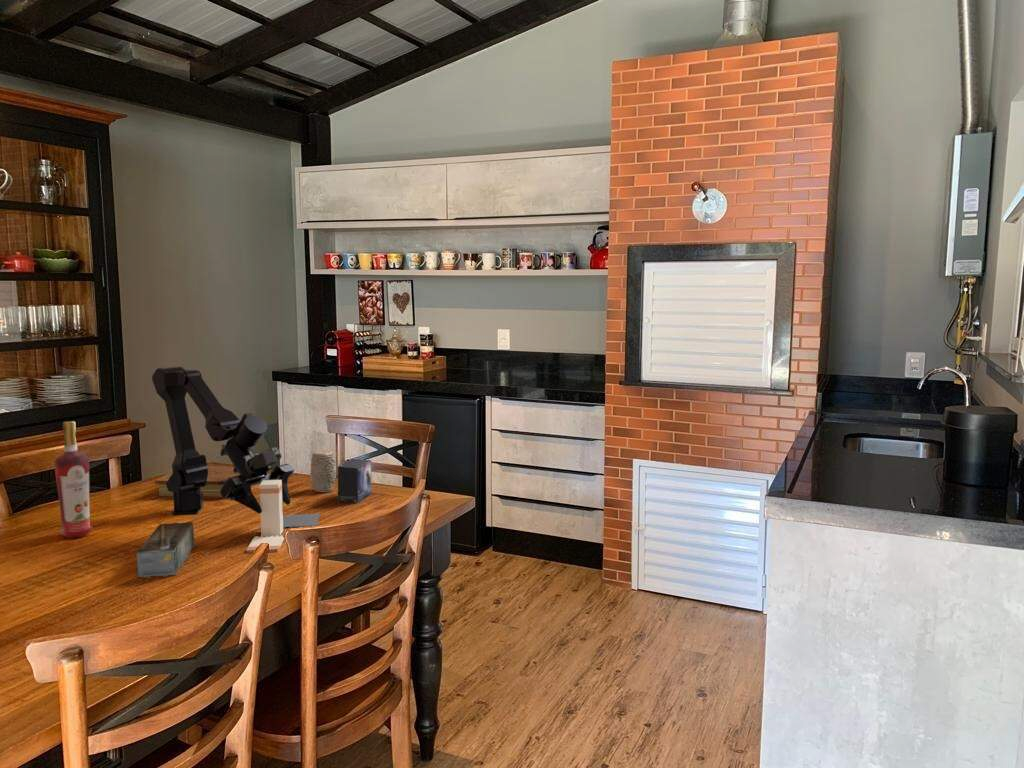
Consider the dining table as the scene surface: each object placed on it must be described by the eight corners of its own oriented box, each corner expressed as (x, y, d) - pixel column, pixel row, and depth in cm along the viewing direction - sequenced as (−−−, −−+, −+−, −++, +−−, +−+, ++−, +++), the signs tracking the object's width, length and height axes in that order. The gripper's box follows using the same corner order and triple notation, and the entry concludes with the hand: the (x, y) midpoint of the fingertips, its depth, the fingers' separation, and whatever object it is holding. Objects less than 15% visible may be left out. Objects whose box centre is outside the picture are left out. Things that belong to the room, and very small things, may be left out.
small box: (358, 504, 214) (357, 467, 213) (337, 502, 216) (336, 466, 214) (372, 494, 225) (372, 459, 223) (352, 492, 226) (351, 458, 225)
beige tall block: (261, 536, 186) (259, 484, 184) (264, 530, 190) (262, 480, 189) (280, 536, 186) (278, 484, 185) (283, 530, 191) (281, 479, 189)
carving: (333, 493, 225) (332, 453, 223) (307, 493, 225) (306, 453, 223) (338, 488, 231) (337, 449, 229) (313, 487, 231) (312, 449, 229)
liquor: (88, 528, 191) (81, 418, 188) (97, 535, 186) (90, 422, 183) (55, 535, 186) (47, 422, 183) (64, 542, 181) (56, 426, 178)
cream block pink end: (277, 551, 176) (277, 548, 175) (246, 553, 175) (245, 550, 175) (284, 537, 185) (284, 534, 185) (254, 538, 184) (254, 535, 184)
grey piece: (135, 579, 159) (133, 549, 158) (159, 548, 178) (158, 521, 177) (176, 577, 161) (174, 547, 160) (195, 546, 179) (194, 519, 179)
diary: (258, 484, 237) (257, 466, 236) (234, 501, 219) (234, 481, 218) (185, 482, 238) (184, 464, 237) (155, 499, 219) (154, 479, 219)
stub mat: (275, 528, 192) (275, 526, 192) (281, 516, 202) (281, 515, 202) (315, 527, 194) (315, 525, 194) (320, 515, 203) (320, 513, 203)
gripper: (225, 445, 180) (258, 497, 175) (287, 432, 195) (319, 480, 191) (206, 473, 185) (237, 525, 180) (268, 458, 201) (298, 506, 196)
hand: (275, 508), depth 187 cm, fingers open, 8 cm apart
